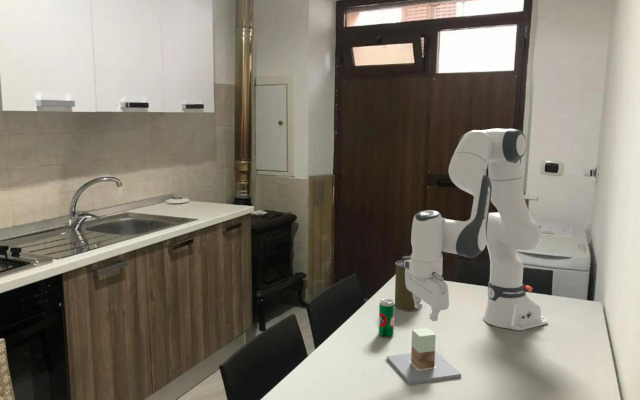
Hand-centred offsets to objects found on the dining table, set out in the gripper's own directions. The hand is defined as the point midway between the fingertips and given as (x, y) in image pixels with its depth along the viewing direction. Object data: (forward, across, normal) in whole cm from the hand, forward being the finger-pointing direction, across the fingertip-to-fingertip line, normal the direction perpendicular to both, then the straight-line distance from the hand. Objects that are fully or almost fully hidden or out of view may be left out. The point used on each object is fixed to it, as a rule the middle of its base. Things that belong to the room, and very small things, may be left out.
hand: (425, 314), depth 150 cm
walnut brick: (+15, 0, +1) cm, 16 cm away
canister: (+17, +48, -17) cm, 54 cm away
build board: (+16, 0, +1) cm, 17 cm away
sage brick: (+10, 0, +1) cm, 11 cm away
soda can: (+17, +25, +2) cm, 30 cm away
